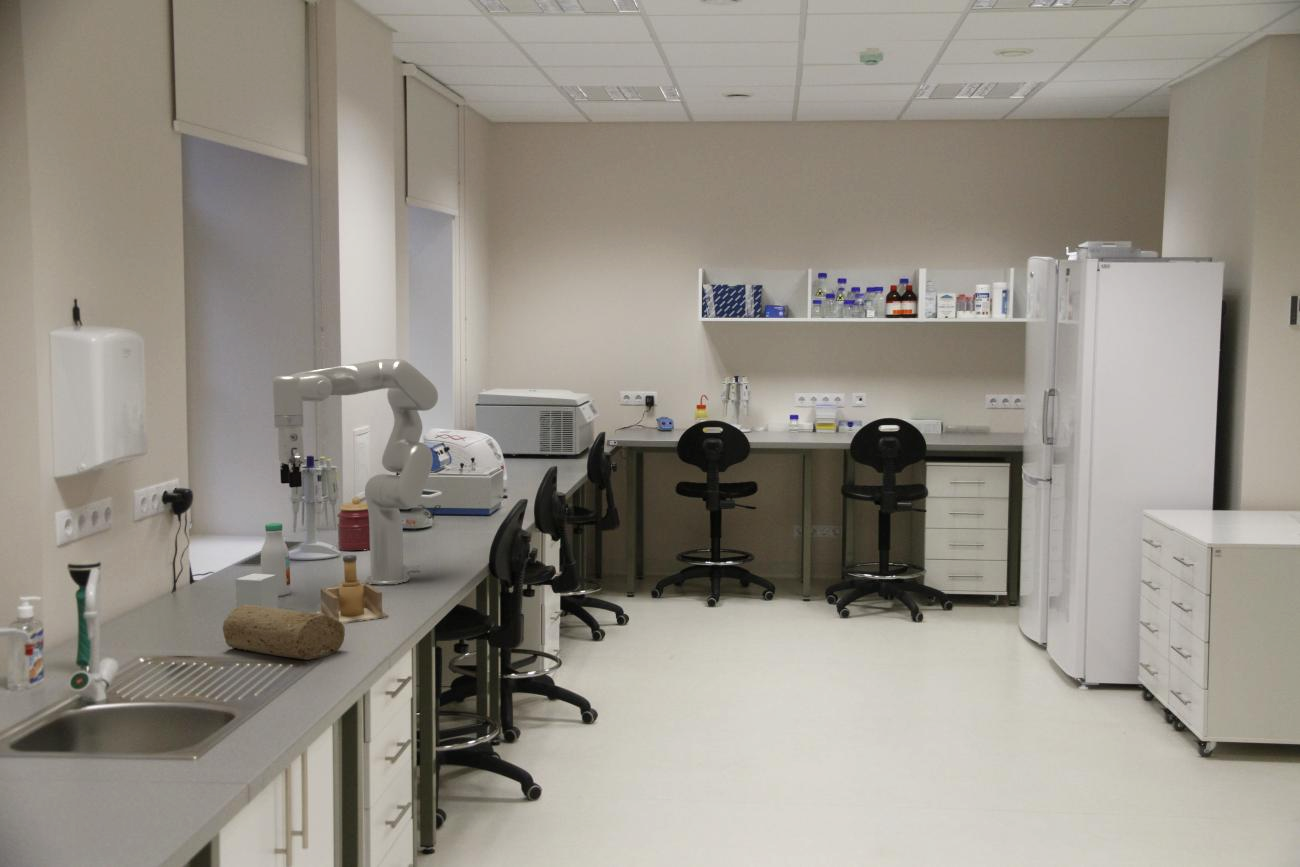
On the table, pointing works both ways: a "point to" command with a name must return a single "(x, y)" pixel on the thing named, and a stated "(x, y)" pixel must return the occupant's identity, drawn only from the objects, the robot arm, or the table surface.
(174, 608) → the table surface
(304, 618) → the core sample
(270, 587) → the supplement box
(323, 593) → the u rest
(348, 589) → the bottle
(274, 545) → the milk bottle
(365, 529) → the canister
